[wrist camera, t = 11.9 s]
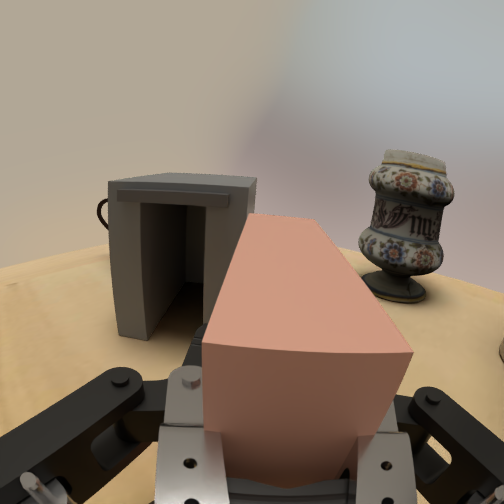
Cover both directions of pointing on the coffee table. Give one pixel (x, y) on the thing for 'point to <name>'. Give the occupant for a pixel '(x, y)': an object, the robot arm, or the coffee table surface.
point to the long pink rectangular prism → (295, 356)
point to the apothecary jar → (405, 224)
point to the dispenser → (172, 241)
